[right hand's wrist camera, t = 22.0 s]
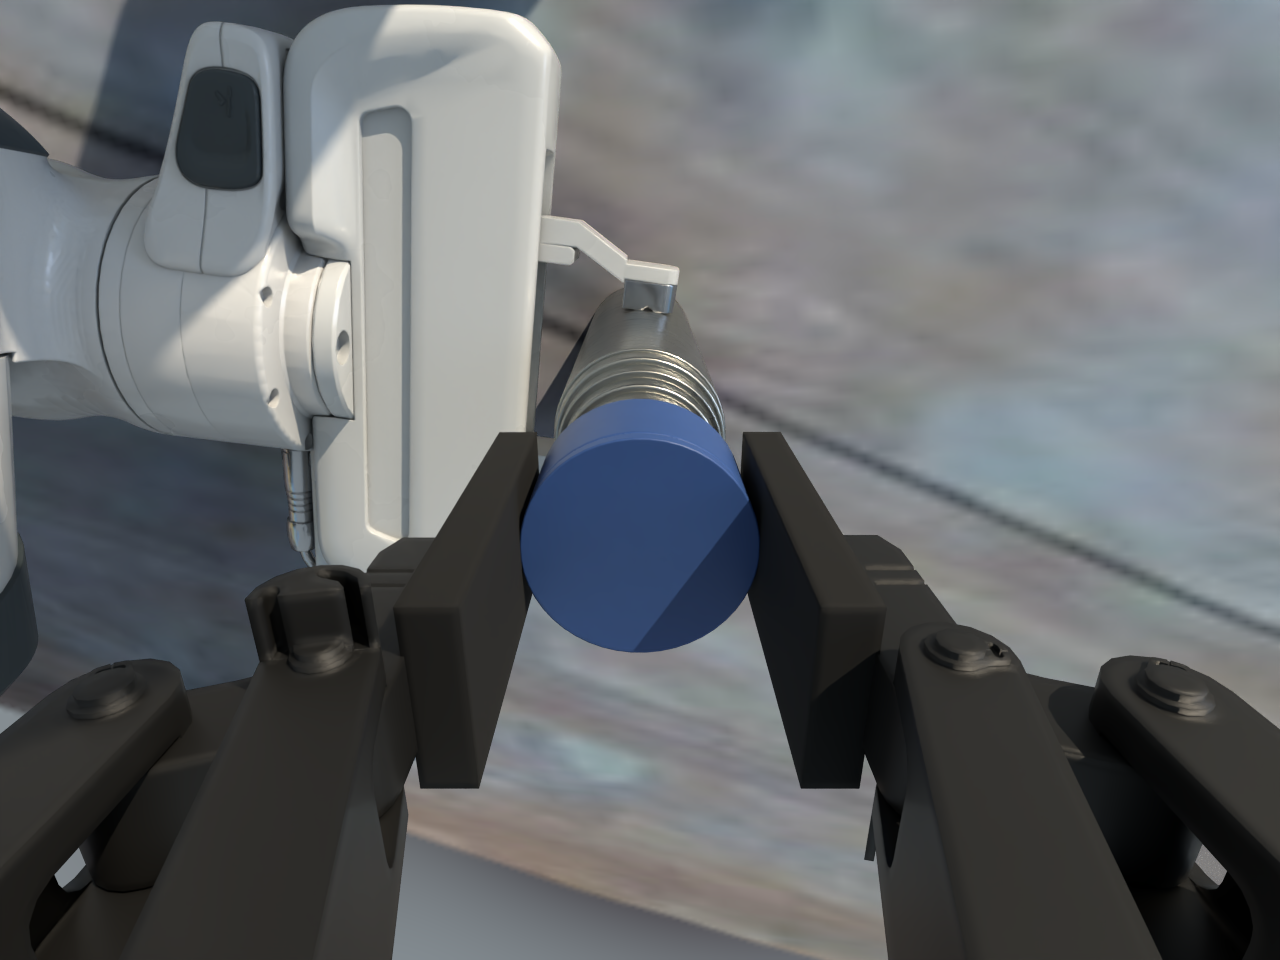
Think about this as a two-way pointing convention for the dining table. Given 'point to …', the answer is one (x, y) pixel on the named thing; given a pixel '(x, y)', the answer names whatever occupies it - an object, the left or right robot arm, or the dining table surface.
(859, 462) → the dining table surface
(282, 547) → the dining table surface
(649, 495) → the cap
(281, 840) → the right robot arm
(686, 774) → the dining table surface
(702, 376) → the bottle
